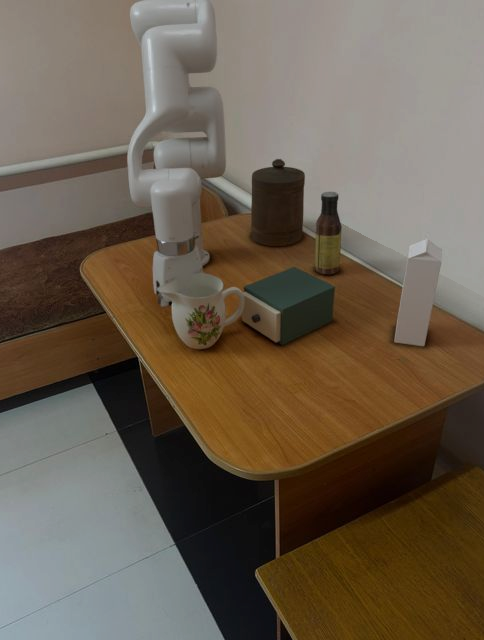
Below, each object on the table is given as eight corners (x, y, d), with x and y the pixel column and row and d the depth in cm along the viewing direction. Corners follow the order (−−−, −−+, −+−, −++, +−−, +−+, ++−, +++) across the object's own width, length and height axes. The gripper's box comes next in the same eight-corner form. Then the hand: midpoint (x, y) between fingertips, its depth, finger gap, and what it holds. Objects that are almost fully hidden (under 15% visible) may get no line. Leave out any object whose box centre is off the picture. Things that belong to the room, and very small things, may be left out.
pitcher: (253, 344, 112) (254, 286, 104) (170, 362, 107) (164, 303, 99) (235, 318, 120) (234, 262, 112) (157, 334, 115) (150, 277, 107)
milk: (393, 342, 110) (409, 242, 98) (395, 327, 115) (411, 229, 102) (425, 347, 108) (444, 245, 96) (425, 331, 113) (444, 232, 100)
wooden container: (312, 233, 158) (316, 156, 145) (284, 251, 148) (285, 171, 136) (270, 223, 166) (270, 149, 153) (241, 239, 156) (239, 162, 144)
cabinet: (282, 345, 111) (283, 309, 106) (244, 320, 119) (243, 286, 114) (332, 321, 118) (335, 286, 113) (293, 299, 126) (294, 266, 121)
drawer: (271, 344, 109) (271, 316, 106) (237, 322, 117) (236, 294, 113) (322, 320, 117) (324, 292, 113) (287, 300, 124) (288, 274, 120)
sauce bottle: (344, 271, 137) (351, 194, 126) (325, 278, 134) (331, 200, 123) (326, 262, 142) (331, 188, 130) (308, 269, 139) (312, 193, 127)
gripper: (196, 228, 113) (202, 304, 123) (133, 248, 106) (145, 327, 116) (217, 239, 108) (221, 317, 118) (152, 261, 101) (163, 341, 111)
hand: (183, 322), depth 117 cm, fingers closed
